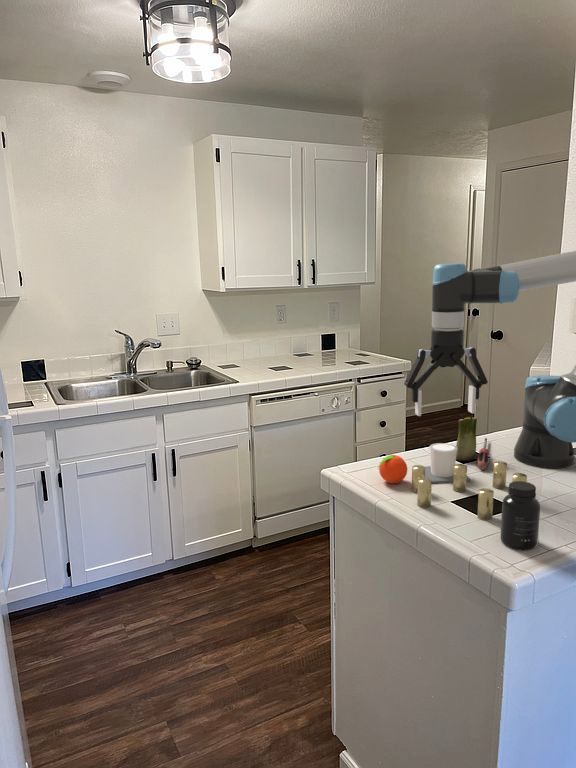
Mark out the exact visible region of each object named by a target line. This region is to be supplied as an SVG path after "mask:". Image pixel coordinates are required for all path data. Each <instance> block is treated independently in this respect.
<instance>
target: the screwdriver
mask: <svg viewBox="0 0 576 768" xmlns="http://www.w3.org/2000/svg"><path fill="white" fill-rule="evenodd" d="M487 444H488V438H486V437H484V442H483V447H481V448H480V449H479V451H478V456H477V459H476V464H477V465H476V466H477V467H478V469H479V470H482V471H483V470H486V468H487V467H488V465H489V460H490V459H489V455H490V452H489V449H487Z"/></svg>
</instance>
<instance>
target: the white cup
mask: <svg viewBox="0 0 576 768" xmlns="http://www.w3.org/2000/svg"><path fill="white" fill-rule="evenodd" d="M456 455H457V447H456V445H454V444H451V443H447V442H445V443H444V442H439V443H438V442H436V443H432V444H430V445H429V459H430V466H431V473H432V474H433V475H435V476H439V477H450V476H452V475H454V465H455V464H456V461H457V457H456Z"/></svg>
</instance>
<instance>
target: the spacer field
mask: <svg viewBox="0 0 576 768" xmlns="http://www.w3.org/2000/svg"><path fill="white" fill-rule="evenodd" d="M425 467H426V466H424V465H419V464H415V465H412V468H411V492H412V493H414V494H416V495H417V498H416V499H417V502H416V503H417V504H416V505H417V507H418V508H421V509H429V508H430V507H432V485H433V484H432V480H431V479H428V478H425ZM492 471H493V472H492V485H491V486H492V488H493V489H497V490H504V489H506V486H507V485H506V484H507V473H508V472H507V471H508V462H506V461H502V460H497V461H496V460H494V462H493V470H492ZM467 474H468V465H467V464H464V463H455V465H454V476H453V482H452V484H453V485H452V490H453V491H454V492H456V493H466V491H467V482H466V479H467V476H468V475H467ZM515 481H523V482H528V475H527V474H525V473H522V472H521V473H520V472H515V473H512V480H511V482H515ZM493 489H490V488H480V489H478V496H477V497H478V502H477V518H478V519H479V520H482V521H491V520H492V519H493V511H494V510H493V509H494V494H495V493H494V490H493Z"/></svg>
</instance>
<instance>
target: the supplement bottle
mask: <svg viewBox="0 0 576 768" xmlns="http://www.w3.org/2000/svg"><path fill="white" fill-rule="evenodd" d="M536 492H537V487H536V485H534V484H532V483H531V482H528V481H527V482H523V481H515V482H512V481H511V482H509V484H508V491H507V495H506V496H504V497H503V499H502V502H501V503H502V505H501V517H500V518H501V519H500V520H501V522H500V541H501V543H502V544H504V546H506V547H508V548H510V549H513V550H517V551H530V550H533V549H535V548H536V547H537V545H538V544H539V543H538V542H539V529H540V517H541V516H540V515H541V514H540V513H541V504H540V502H539V500H538V499H537V498H536V496H537V493H536Z"/></svg>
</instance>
